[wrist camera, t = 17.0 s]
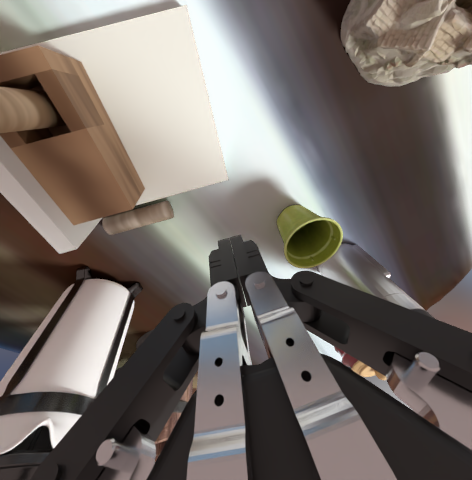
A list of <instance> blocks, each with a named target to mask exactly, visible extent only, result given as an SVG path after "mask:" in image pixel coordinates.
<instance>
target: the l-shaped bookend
mask: <svg viewBox="0 0 472 480" xmlns="http://www.w3.org/2000/svg"><path fill="white" fill-rule="evenodd" d="M37 45H39V46H41V47H44V48H47V49H49V50H52V51H54V52H57V53H60V54H62V55H65V56H67V57H70V58H73V59H75V60H78V61H80V62H82V64H83V66H84V68H85V70H86V72H87V74H88V76H89V78H90V80H91V82H92V84H93V86H94V88H95V90H96V92H97V94H98V96H99V98H100V100H101V102H102V104H103V106H104V108H105V110H106V112H107V114H108V116H109V118H110V120H111V122H112V124H113V126H114V128H115V130H116V132H117V134H118V136H119V138H120V140H121V142H122V144H123V146H124V148H125V150H126V152H127V154H128V156H129V157H130V159H131V161H132V163H133V165H134V167H135V169H136V171H137V173H138V175H139V177H140V179H141V181H142V183H143V185H144V187H145V190H144V191H143V193H142V195H141V196H140V198H139V200H138V202H137V203H136V205H139V204H143V203H147V202H150V201H154V200H157V199H161V198H165V197H168V196H172V195H176V194H179V193H183V192H187V191H190V190H194V189H198V188H201V187H205V186H209V185H212V184H216V183H219V182H223V181H227V180H228V176H227V171H226V167H225V163H224V159H223V155H222V151H221V146H220V142H219V138H218V134H217V130H216V126H215V121H214V117H213V113H212V109H211V105H210V101H209V96H208V92H207V88H206V84H205V80H204V76H203V71H202V67H201V63H200V59H199V55H198V51H197V47H196V42H195V38H194V34H193V30H192V26H191V22H190V17H189V13H188V9H187V5H184V6H180V7H176V8H172V9H168V10H165V11H161V12H157V13H153V14H149V15H145V16H141V17H137V18H133V19H129V20H126V21H122V22H118V23H114V24H110V25H106V26H102V27H98V28H94V29H90V30H86V31H83V32H79V33H75V34H71V35H67V36H63V37H59V38H55V39H51V40H47V41H44V42H40V43H36V44H32V45H28V46H24V47H20V48H16V49H12V50H8V51H5V52H1V53H0V55H2V54H5V53H9V52H13V51H17V50H21V49H25V48H29V47H33V46H37ZM0 193H1V194H2V195H3V196H4V197H5V198H6V199H7V200H8V201H9V202H10V203H11V204H12V205H13V206H14V207H15V208H16V209H17V210H18V211H19V212H20V213H21V214H22V215H23V216H24V217H25V219H26V220H27V221H28V222H29V223H30V224H31V225H32V226H33V227H34V228H35V229H36V230H37V231H38V232H39V233H40V234H41V235H42V236H43V237H44V238H45V239H46V240H47V241H48V242H49V243H50V245H51V246H52V247H53V248H54V249H55V250H56V251H57V252H58V253H59V254H61V253H64V252H68V251H72V250H75V249H77V248H78V247H79V246H80V245H81V243H82V242H83V241H84V240H85V239H86V237H87V236H88V235H89V234H90V232H91V231H92V230H93V229H94V228H95V226H96V225H97V224H98V223H99V222H100V220H101V219H102V218H99V219H96V220H92V221H88V222H85V223H81V224H77V225H73V224H72V223H71V222H70V220H69V219H68V218H67V217H66V216H65V214H64V213H63V212H62V211H61V209H60V208H59V207H58V206H57V205H56V203H55V202H54V201H53V200H52V198H51V197H50V196H49V195H48V194H47V192H46V191H45V190H44V189H43V187H42V186H41V185H40V184H39V183H38V181H37V180H36V179H35V178H34V176H33V175H32V174H31V173H30V172H29V170H28V169H27V168H26V167H25V165H24V164H23V163H22V162H21V160H20V159H19V158H18V157H17V156H16V154H15V153H14V152H13V151H12V149H11V148H10V147H9V146H8V145H7V143H6V142H5V141H4V140H3V138H2V137H1V136H0ZM136 205H135V206H136Z"/></svg>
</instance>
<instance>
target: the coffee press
mask: <svg viewBox="0 0 472 480" xmlns="http://www.w3.org/2000/svg"><path fill="white" fill-rule="evenodd" d="M142 289H143V288H142V286H141V284H140V283H139V282H137V283H135V284H133V285H132V286H131V287H129V288H127V289H126V288H125V287H123V286H122V285H120V284H118V283H116V282H113V281H109V280H104V279H92V277H91V271H90V268H89V267H88V266H86V267H82V268H78V269H77V276H76V282H75V283H74V284H72V285H71V286H69V287H68V288H67V289H66V290H65V291H64V293H63V294H62V295H61V297H60V298H59V299H58V301H57V302H56V304H55V305H54V306H53V308H52V309H51V311H50V312H49V313H48V315H47V316H46V318H45V319H44V321H43V322H42V323H41V325H40V326H39V328H38V329H37V331H36V332H35V333H34V335H33V336H32V338H31V339H30V340H29V342H28V343H27V345H26V346H25V348H24V349H23V350H22V352H21V353H20V355H19V356H18V358H17V359H16V360H15V362H14V364H13V365H12V366H11V368H10V369H9V370H8V372H7V373H6V375H5V376H4V378H3V379H2V380H1V382H0V480H30V479H31V478H32V476H33V474H34V473H35V471H36V470H37V468H38V467H39V466H40V464H41V463H42V462H43V461H44V460H45V458H46V457H47V456H48V455H49V454H50V452H51V451H52V450H53V449H54V448H55V447H56V445H57V444H58V443H59V442H60V441H61V439H62V438H63V437H64V436H65V435H66V433H67V432H68V431H69V430H70V429H71V427H72V426H73V425H74V424H75V423H76V422H77V420H78V419H79V418H80V417H81V416H82V414H83V413H84V412H85V411H86V410H87V408H88V407H89V406H90V405H91V404H92V403H93V401H94V400H95V399H96V398H97V397H98V395H99V394H100V393H101V392H102V391H103V389H104V388H105V387H106V386H107V385H108V383H109V382H110V381H111V380H112V379H113V377H114V373H115V370H116V367H117V363H118V360H119V356H120V353H121V350H122V346H123V343H124V340H125V336H126V333H127V330H128V326H129V323H130V319H131V316H132V313H133V309H134V298H135V297H136V296H137V295H138V294H139V293H140V292H141V291H142Z"/></svg>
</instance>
